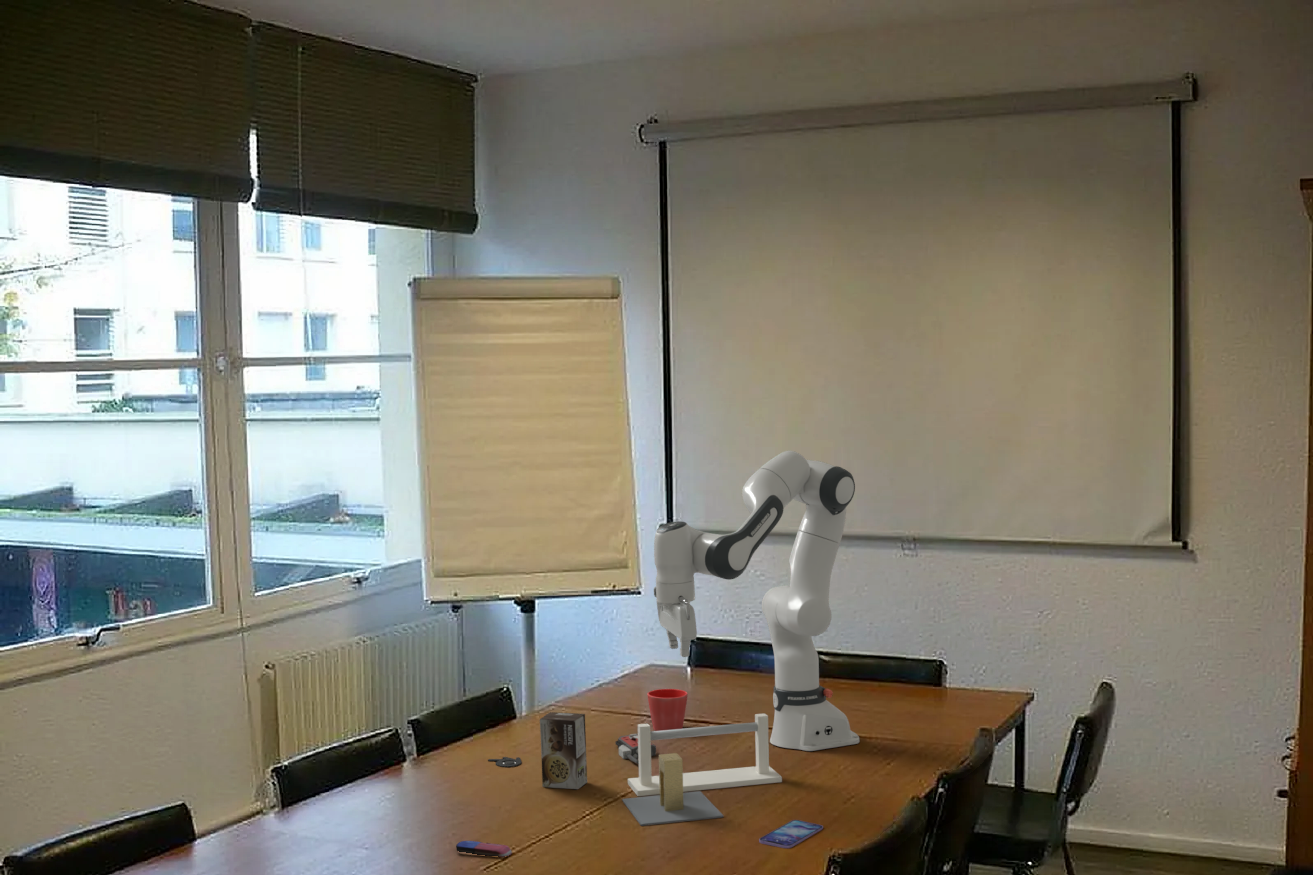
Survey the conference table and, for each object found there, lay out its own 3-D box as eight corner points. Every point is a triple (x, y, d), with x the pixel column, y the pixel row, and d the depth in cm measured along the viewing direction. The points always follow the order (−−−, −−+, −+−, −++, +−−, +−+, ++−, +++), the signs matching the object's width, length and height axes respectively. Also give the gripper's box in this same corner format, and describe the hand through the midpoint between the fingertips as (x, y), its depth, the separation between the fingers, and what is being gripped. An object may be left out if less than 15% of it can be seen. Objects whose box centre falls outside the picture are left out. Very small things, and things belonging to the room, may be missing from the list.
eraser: (514, 853, 285) (514, 845, 284) (506, 860, 281) (506, 851, 281) (462, 847, 288) (462, 838, 288) (453, 854, 284) (453, 845, 284)
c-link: (677, 802, 312) (676, 753, 312) (683, 809, 307) (682, 759, 307) (659, 804, 311) (658, 754, 311) (665, 811, 306) (664, 760, 306)
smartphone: (825, 825, 294) (788, 846, 282) (825, 830, 295) (788, 851, 282) (794, 819, 299) (757, 839, 286) (794, 823, 299) (756, 844, 287)
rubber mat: (700, 792, 320) (700, 791, 320) (723, 817, 303) (723, 815, 303) (622, 800, 316) (622, 798, 316) (640, 825, 298) (640, 824, 298)
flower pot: (689, 724, 381) (689, 688, 380) (686, 734, 370) (685, 697, 370) (650, 724, 382) (649, 688, 382) (646, 734, 371) (645, 697, 371)
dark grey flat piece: (482, 763, 349) (482, 760, 349) (506, 757, 355) (506, 754, 355) (507, 770, 343) (507, 767, 343) (531, 763, 348) (531, 760, 348)
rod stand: (768, 770, 337) (766, 709, 336) (781, 782, 327) (780, 719, 326) (627, 783, 328) (626, 721, 328) (637, 796, 319) (636, 731, 318)
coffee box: (588, 782, 330) (586, 713, 330) (577, 790, 324) (575, 720, 323) (552, 779, 333) (550, 711, 333) (541, 787, 327) (539, 717, 326)
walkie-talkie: (607, 748, 360) (633, 769, 341) (607, 731, 360) (633, 750, 341) (640, 744, 363) (668, 764, 344) (640, 727, 363) (667, 746, 344)
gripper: (701, 599, 319) (705, 659, 320) (677, 585, 338) (680, 642, 339) (674, 601, 317) (678, 663, 318) (651, 587, 337) (655, 645, 338)
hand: (679, 652), depth 329 cm, fingers open, 8 cm apart
